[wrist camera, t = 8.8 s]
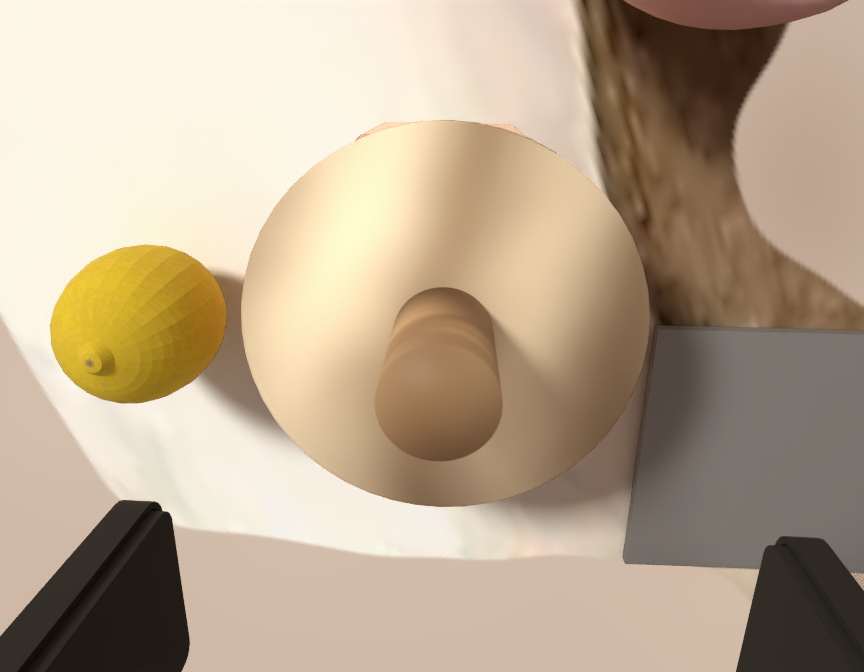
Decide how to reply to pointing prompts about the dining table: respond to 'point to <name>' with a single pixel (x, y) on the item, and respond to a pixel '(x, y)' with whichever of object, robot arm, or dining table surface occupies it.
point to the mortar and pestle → (733, 11)
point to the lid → (445, 314)
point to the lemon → (138, 324)
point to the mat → (749, 446)
